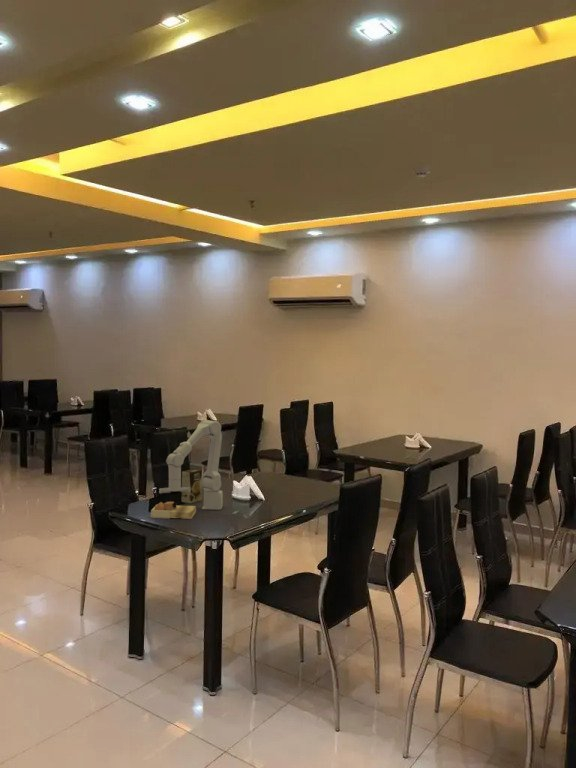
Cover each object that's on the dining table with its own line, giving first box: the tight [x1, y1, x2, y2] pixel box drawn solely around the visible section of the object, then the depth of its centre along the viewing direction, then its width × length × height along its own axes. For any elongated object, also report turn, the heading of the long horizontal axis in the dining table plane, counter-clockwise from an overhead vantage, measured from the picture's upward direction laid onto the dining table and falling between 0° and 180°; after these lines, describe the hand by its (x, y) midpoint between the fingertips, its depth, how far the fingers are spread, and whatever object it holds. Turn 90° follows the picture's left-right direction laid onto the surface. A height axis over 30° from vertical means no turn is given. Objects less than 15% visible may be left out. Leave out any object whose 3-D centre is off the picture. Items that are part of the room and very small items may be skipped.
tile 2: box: [163, 501, 178, 509], centre depth 297 cm, size 4×4×2 cm
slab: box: [169, 505, 197, 520], centre depth 295 cm, size 10×13×3 cm
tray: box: [150, 503, 172, 519], centre depth 295 cm, size 9×13×4 cm
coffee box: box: [181, 468, 203, 504], centre depth 324 cm, size 9×6×16 cm
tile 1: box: [154, 501, 167, 510], centre depth 296 cm, size 4×4×2 cm
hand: (174, 507), depth 295 cm, fingers closed, pressing on tile 2
